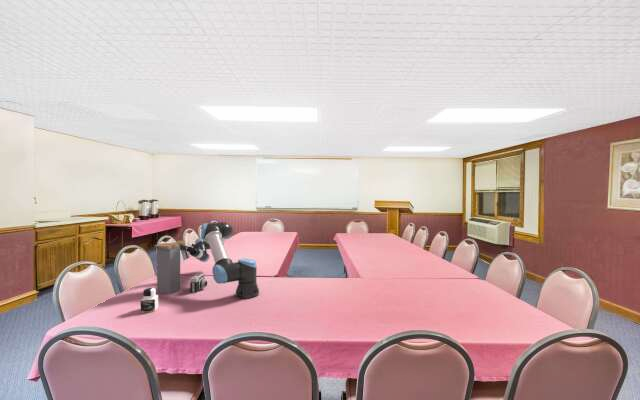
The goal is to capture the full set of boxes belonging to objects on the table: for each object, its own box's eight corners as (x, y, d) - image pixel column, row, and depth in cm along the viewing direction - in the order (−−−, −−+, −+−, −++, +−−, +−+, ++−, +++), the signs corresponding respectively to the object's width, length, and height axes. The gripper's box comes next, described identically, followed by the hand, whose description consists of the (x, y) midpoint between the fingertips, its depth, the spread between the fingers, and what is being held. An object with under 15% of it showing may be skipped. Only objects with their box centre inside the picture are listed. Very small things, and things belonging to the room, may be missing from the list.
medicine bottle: (140, 312, 159) (140, 291, 158) (144, 307, 165) (144, 287, 165) (154, 311, 160) (154, 290, 160) (158, 306, 167) (158, 286, 167)
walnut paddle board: (175, 243, 209) (175, 240, 209) (189, 243, 207) (189, 241, 207) (153, 248, 188) (153, 245, 188) (168, 249, 186) (168, 246, 186)
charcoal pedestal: (167, 287, 201) (167, 245, 200) (180, 288, 199) (180, 245, 198) (157, 292, 191) (156, 248, 190) (170, 293, 189) (170, 248, 188)
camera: (202, 292, 191) (201, 278, 191) (189, 292, 191) (189, 278, 191) (210, 286, 205) (209, 272, 205) (198, 286, 205) (198, 272, 205)
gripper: (209, 257, 220) (194, 248, 202) (180, 256, 225) (163, 246, 207) (211, 248, 224) (197, 238, 206) (183, 247, 229) (166, 237, 211)
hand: (180, 242), depth 206 cm, fingers open, 13 cm apart
